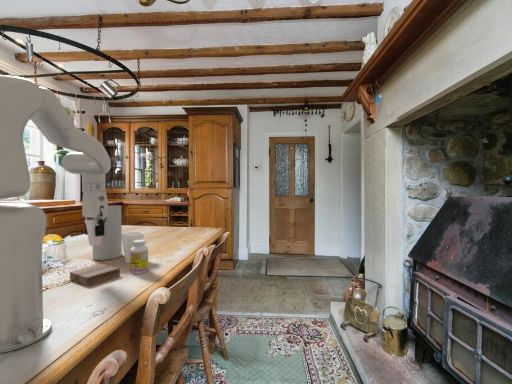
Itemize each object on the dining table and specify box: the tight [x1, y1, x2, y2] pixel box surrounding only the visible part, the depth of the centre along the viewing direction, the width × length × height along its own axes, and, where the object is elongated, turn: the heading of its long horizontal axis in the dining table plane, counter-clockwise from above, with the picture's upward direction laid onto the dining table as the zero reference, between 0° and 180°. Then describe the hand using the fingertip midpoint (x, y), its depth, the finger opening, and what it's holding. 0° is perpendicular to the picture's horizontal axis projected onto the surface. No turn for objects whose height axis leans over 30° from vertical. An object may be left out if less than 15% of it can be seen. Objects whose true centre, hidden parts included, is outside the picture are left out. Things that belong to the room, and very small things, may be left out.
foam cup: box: [121, 231, 145, 264], centre depth 121 cm, size 10×9×13 cm
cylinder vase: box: [92, 205, 123, 261], centre depth 128 cm, size 12×12×25 cm
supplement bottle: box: [130, 239, 149, 275], centre depth 107 cm, size 7×7×13 cm
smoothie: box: [84, 218, 102, 247], centre depth 99 cm, size 6×6×14 cm
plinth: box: [69, 263, 121, 287], centre depth 100 cm, size 12×12×3 cm
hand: (94, 234), depth 99 cm, fingers closed on smoothie, 5 cm apart
